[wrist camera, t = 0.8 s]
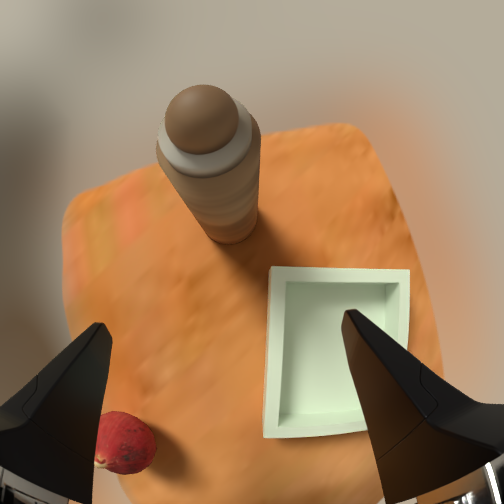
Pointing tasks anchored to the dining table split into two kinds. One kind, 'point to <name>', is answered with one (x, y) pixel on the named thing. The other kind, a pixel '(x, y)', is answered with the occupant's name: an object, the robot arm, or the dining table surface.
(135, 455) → the pomegranate
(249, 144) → the pepper mill
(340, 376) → the serving tray
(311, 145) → the dining table surface
